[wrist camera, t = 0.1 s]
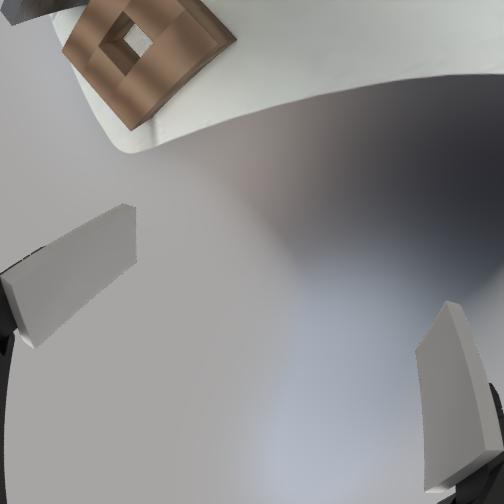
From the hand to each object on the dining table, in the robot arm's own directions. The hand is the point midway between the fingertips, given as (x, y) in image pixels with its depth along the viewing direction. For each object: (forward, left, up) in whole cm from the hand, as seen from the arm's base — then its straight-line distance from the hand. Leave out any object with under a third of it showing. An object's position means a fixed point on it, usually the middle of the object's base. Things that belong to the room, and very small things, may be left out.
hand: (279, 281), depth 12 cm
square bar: (+16, -36, -28) cm, 49 cm away
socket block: (+15, -21, -28) cm, 38 cm away
